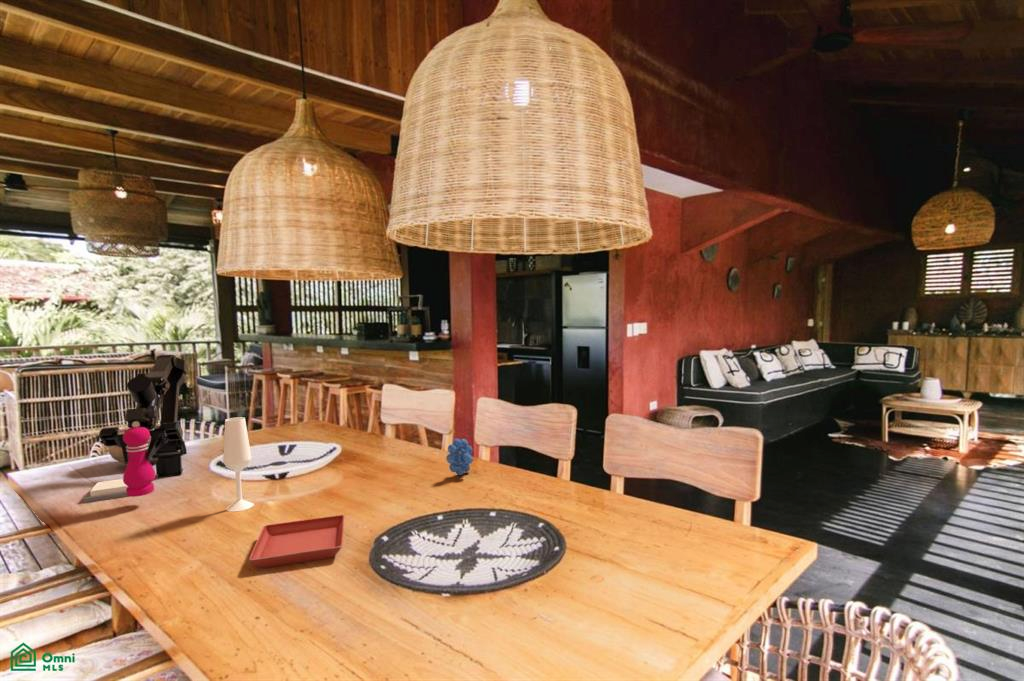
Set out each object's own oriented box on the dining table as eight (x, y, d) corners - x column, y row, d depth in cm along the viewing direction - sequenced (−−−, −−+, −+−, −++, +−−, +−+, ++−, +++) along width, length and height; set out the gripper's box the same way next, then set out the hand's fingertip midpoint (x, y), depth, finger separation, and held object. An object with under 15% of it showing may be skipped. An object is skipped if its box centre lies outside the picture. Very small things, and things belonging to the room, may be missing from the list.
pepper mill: (143, 497, 141) (138, 424, 139) (117, 497, 141) (112, 424, 139) (162, 487, 148) (157, 418, 146) (137, 487, 148) (132, 417, 146)
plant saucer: (248, 575, 106) (248, 559, 106) (264, 538, 123) (263, 524, 123) (343, 561, 111) (342, 546, 111) (345, 527, 128) (344, 514, 128)
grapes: (458, 482, 158) (457, 443, 157) (442, 478, 162) (440, 440, 161) (482, 472, 168) (481, 435, 167) (466, 469, 172) (465, 432, 171)
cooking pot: (96, 465, 185) (93, 431, 184) (155, 452, 201) (153, 421, 200) (129, 476, 172) (126, 439, 171) (190, 461, 188) (188, 427, 187)
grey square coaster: (141, 484, 163) (140, 475, 163) (135, 495, 153) (134, 485, 153) (92, 491, 158) (92, 482, 157) (83, 503, 148) (82, 493, 148)
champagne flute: (242, 512, 138) (237, 422, 137) (219, 510, 140) (214, 421, 138) (259, 502, 145) (254, 416, 144) (237, 501, 146) (233, 416, 145)
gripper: (98, 399, 143) (84, 449, 134) (177, 393, 150) (169, 441, 140) (111, 421, 151) (99, 470, 142) (186, 415, 158) (179, 462, 148)
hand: (136, 460), depth 143 cm, fingers closed on pepper mill, 5 cm apart
